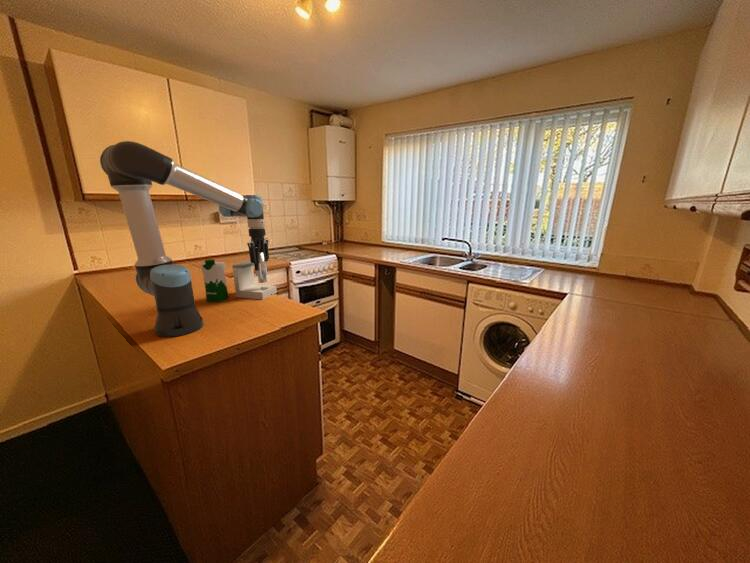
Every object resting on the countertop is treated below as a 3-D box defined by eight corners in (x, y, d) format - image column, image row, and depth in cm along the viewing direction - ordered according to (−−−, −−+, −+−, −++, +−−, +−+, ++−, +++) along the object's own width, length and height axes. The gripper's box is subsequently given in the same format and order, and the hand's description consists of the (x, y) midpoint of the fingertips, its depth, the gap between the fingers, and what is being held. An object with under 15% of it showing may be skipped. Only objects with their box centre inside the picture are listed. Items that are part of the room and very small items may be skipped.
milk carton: (203, 302, 141) (197, 260, 136) (215, 296, 150) (209, 257, 145) (221, 302, 140) (215, 261, 135) (231, 297, 149) (226, 257, 144)
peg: (256, 282, 149) (253, 253, 145) (261, 280, 153) (258, 251, 149) (263, 283, 148) (260, 253, 144) (268, 281, 152) (265, 252, 148)
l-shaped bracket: (262, 299, 145) (259, 266, 141) (236, 296, 149) (232, 265, 145) (276, 292, 156) (274, 262, 152) (251, 290, 160) (248, 261, 156)
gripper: (251, 229, 134) (257, 279, 140) (273, 226, 150) (277, 271, 156) (237, 229, 136) (244, 278, 142) (260, 226, 152) (265, 270, 158)
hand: (261, 274), depth 149 cm, fingers closed on peg, 4 cm apart
